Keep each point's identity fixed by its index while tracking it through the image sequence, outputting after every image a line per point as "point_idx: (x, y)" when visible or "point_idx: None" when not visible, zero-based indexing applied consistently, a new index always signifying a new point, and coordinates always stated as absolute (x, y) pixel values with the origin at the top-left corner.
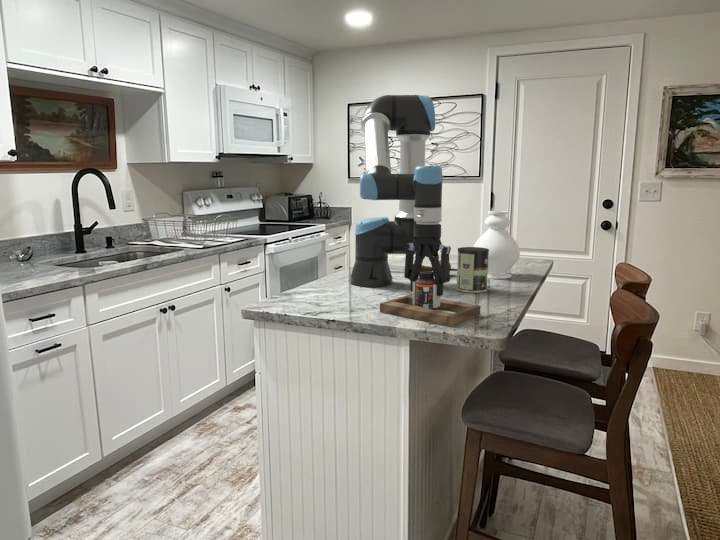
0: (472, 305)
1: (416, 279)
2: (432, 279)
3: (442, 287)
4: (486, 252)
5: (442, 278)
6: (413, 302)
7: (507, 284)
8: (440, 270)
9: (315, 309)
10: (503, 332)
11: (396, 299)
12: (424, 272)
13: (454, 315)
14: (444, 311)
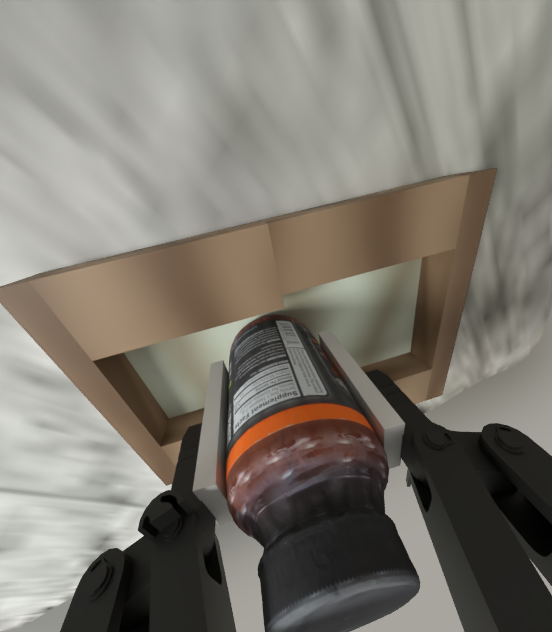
0: (457, 204)
1: (202, 517)
2: (382, 502)
3: (414, 410)
4: None
5: (499, 507)
6: None
7: None
8: (541, 599)
9: (55, 555)
10: (547, 303)
11: (129, 425)
12: (352, 626)
13: (441, 379)
14: (319, 287)
